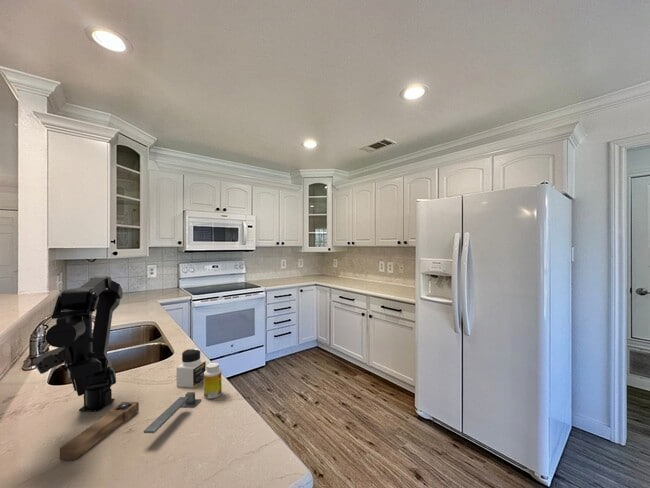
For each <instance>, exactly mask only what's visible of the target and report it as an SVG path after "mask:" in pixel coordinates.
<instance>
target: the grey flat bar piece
mask: <svg viewBox="0 0 650 488" xmlns="http://www.w3.org/2000/svg"><path fill="white" fill-rule="evenodd" d="M184 395H185V396H179V398H177V399H176V400H175V401H174V402H173V403H172V404H171V405H169V407H168V408H167V409H165V410H164V411H163V412H162V413H161V414H160V415H159V416H158V417H156V419H155V420H154V421H153V422H151V424H149V425H148V426H147V427H146V428H145V429H144V430H143V434H155V433H157V431H158V430H159V429H160V428H161V427H162V426H163V425H165V423H167V421H168V420H170V419H171V418H172V417H173V415H175V414H176V412H177V411H178V410H180V408H194V409H195V408H196V407H197V405H199V403H201V401H202V398H201V399H200V398H196V392H193V391H187V392H186V393H185V394H184Z"/></svg>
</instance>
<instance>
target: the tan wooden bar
mask: <svg viewBox="0 0 650 488" xmlns="http://www.w3.org/2000/svg"><path fill="white" fill-rule="evenodd" d="M126 402H128V403H129V406H128V408H127V409H126V410H120V408H118V406H119V405H120V404H122V403H126ZM139 406H140V405H139V401H121V402H120V403H119V404H117V405H115V406H114V407H113V408H111V409H110V410H108V412H107V414H105V415H103V417H101V418H99V419H98V420H97V421H95V422H94V423H93V424H92V425H90V426H89V427H87V428H85V429H84V430H82V431H81V432H80V433H79V434H77V435H76V436H73V438H72V439H70V440H69V441H67V442H66V443H65V444H63V445H62V446H61V447H58V449H59V450H58V451H59V460H68V461H69V460H70V461H71V460H77V459H78V458H79V457H81V456H82V455H84V454H85V453H86V452H87V451H89V450H90V448H92V447H93V446H94V445H96V444H97V443H98V442H99V441H101V440H102V439H103V438H104V437H106V436H107V435H108V434H109V433H111V432H112V431H114V430H115V428H117V427H118V426H119V425H122V423H124V422H126V421H128V420H129V419H130V418H131V417H133V416H134V415H136V414H137V413H138V412H139V408H140V407H139Z"/></svg>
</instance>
